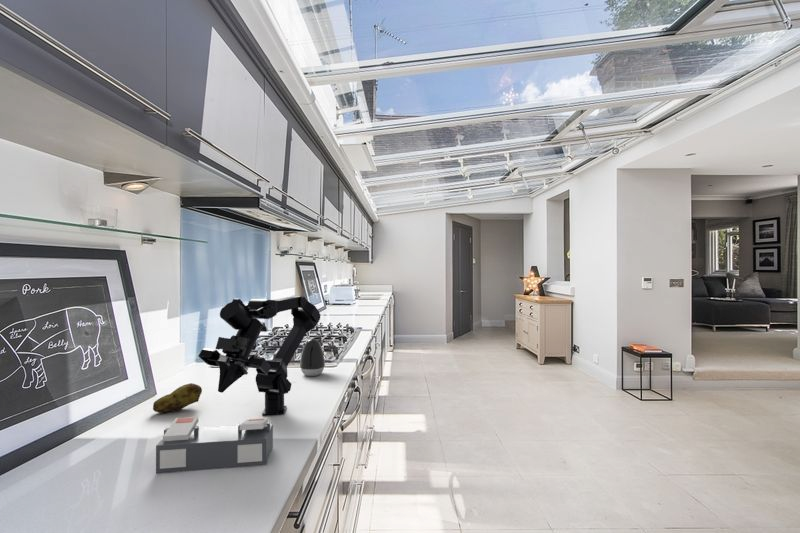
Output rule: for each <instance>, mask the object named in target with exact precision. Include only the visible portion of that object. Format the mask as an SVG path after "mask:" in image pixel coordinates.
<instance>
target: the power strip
mask: <svg viewBox="0 0 800 533" xmlns="http://www.w3.org/2000/svg"><path fill="white" fill-rule="evenodd" d="M240 424H241V423H239V424H236V425H221V426H220V425H219V426H205V427H204V426H202V427H199V425H196V427H195V428H194V430H193V432H192V433H191V435H190V437H189V438H188V440H174V441H163V438H162V439H161V440H160V441H159V442H158V443H157V444H156V445H155V473H156V474H165V473H166V474H167V473H179V472H191V471H192V472H193V471H204V470H205V471H207V470H217V469H232V468H244V467H245V468H246V467H257V466H258V467H259V466H266V465H267V464H268V461H269V459H270V457H271V453H272V451H273V448H274V431H273V430H274V423H273V422H271V421H268V422H267V425H266V426H265V427H264V428H263V429H252V430H240ZM168 428H169V427H166V428H165V429H163V435H164V434H165V433H166V431H167V430H168Z"/></svg>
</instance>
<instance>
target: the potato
mask: <svg viewBox="0 0 800 533" xmlns="http://www.w3.org/2000/svg"><path fill="white" fill-rule="evenodd" d="M202 392H203V388H202V387H201V386H200V385H198V384H196V383H187V384H183V385H181V386H179V387H177V388H176V389H174V390H173V391H172V392H170V393H169V394H168V393H167V394H166V395H163V396H161V397H160V398H158V399H156V400H155V401H154V402H153V404H152V410H153V411H154V412H155V413H159V414H163V413H167V412H169V411H170V412H175V411H179V410H182V409H184V408H186V407H188V406H190V405H192V404H194V403H195V404H196V403H199V399H200V397H201V395H202Z"/></svg>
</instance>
